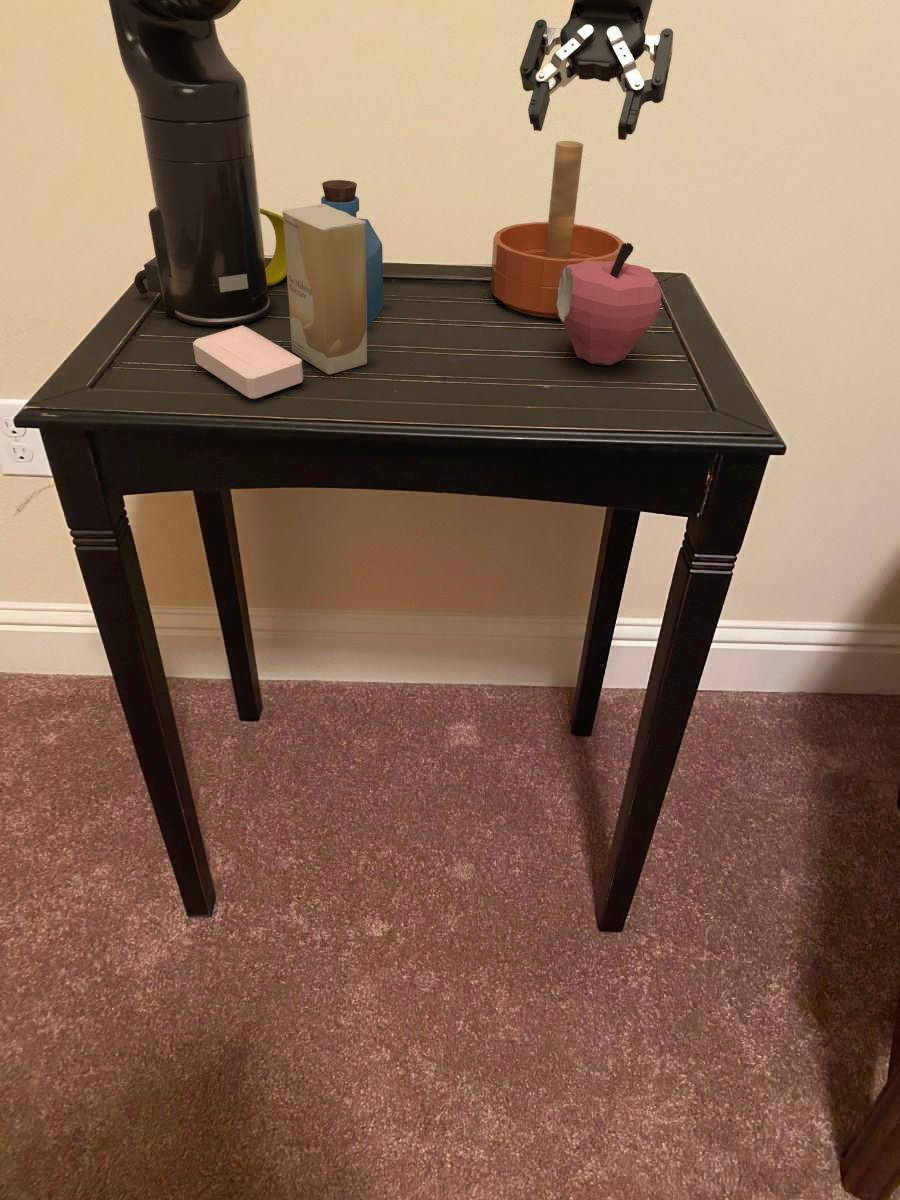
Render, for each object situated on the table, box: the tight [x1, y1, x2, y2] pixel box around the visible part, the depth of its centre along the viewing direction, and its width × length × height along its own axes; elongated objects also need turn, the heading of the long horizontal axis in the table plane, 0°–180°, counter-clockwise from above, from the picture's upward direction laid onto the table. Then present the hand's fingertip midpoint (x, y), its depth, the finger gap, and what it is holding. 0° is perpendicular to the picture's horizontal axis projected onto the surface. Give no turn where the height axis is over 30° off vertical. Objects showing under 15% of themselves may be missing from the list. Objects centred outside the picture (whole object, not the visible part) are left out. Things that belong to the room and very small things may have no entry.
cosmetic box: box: [281, 203, 368, 376], centre depth 72 cm, size 6×4×12 cm
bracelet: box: [259, 207, 287, 287], centre depth 89 cm, size 7×8×3 cm
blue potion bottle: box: [320, 179, 384, 329], centre depth 81 cm, size 6×6×12 cm
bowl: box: [490, 221, 625, 319], centre depth 88 cm, size 13×13×6 cm
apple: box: [557, 242, 662, 367], centre depth 75 cm, size 10×9×10 cm
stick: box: [545, 140, 584, 259], centre depth 86 cm, size 4×4×14 cm
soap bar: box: [192, 324, 304, 400], centre depth 72 cm, size 5×9×2 cm, turn 43°
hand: (578, 130), depth 83 cm, fingers open, 8 cm apart
